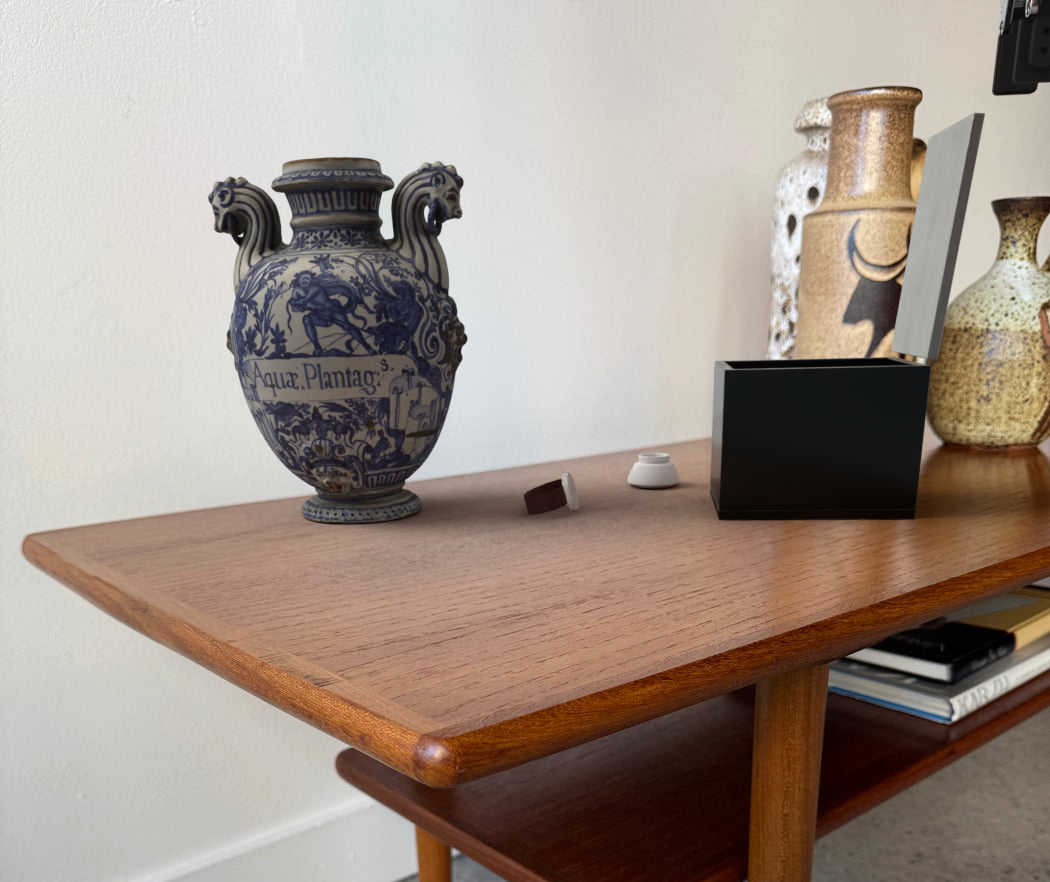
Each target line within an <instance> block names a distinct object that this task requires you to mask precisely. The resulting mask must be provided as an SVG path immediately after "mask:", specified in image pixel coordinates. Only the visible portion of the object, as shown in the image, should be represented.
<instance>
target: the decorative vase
mask: <svg viewBox="0 0 1050 882" xmlns="http://www.w3.org/2000/svg"><path fill="white" fill-rule="evenodd" d="M457 171H458V170H457V168H456V166H455V165H453V164H448V165H445V164H444V163H443V162H442V161H440V160H435V161H434V162H433V163H430V162H428V161H426V162H423V163H421V165H420V166H419V167H418V168H417V170H416V169H415V170H414V171H412V172H410V173H408V174H407V175H406V176H405V177H403V179H401V180H400V182H399V183H398V184H397V186H396V188H395V182H394V180H393V179H392V177H390V176H389V175H386V174H385V173H383V171H382V166H381V162H379V161H378V160H376V159H373V158H370V157H369V158H368V157H358V156H357V157H356V156H355V157H353V156H352V157H350V156H340V157H337V156H327V157H326V156H325V157H313V158H302V159H294V160H289V161H287V162H284V163H283V164H282V169H281V175H280V176H277V177H275V178H274V179H273V180H272V181H271V185H270V188H271V190H273V192H275V193H279V194H284V196H285V198H286V200H287V203H288V205H289V209H290V212H291V219H290V221H289V222H288V223H289V226H290V229H291V230H292V231H291V232H292V237H291V240H290V242H289V243H288V244H287V243H285V242H284V241H283V235H282V223H281V216H280V212H279V209H278V207H277V204H276V202H275V201H274V200H273V198H272V197H271V196H270V195H269V194H268V192H266V191H265V190H264V189H262V188H261V187H260V186H257V185H255V184H252V183H250V182H249V181H248V180H247V178H245V177H244V176H239V177H237V178H235V177H233V176H227V177H226V178H225V180H224V181H219V180H218V181H217V180H216V181H214V183H213V185H212V191H211V192H210V193H209V194H208V196H207V200H208V203H209V204H210V206H211V208H212V211H213V215H214V223H213V230H214V232H216V233H218V234H228V235H230V237H231V238H232V240H233V241H234V243H235V244H236V245H237V246H238V250H237V254H236V256H235V259H234V260H235V261H234V265H233V276H232V279H233V281H232V282H233V293H234V297H235V299H234V303H233V308H232V312H231V315H230V322H229V328H228V330H227V332H226V348H227V350H228V351H229V352H230V353H231V354H232V355H233V358H234V359H233V360H234V362H233V363H234V368H235V370H236V372H237V376H238V379H239V380H238V381H239V383H240V387H241V390H242V393H243V397H244V399H245V402H246V405H247V407H248V409H249V411H250V414H251V415H252V419H253V420H254V422H255V424H256V426H257V428H258V430H259V433H260V434H261V435H262V437H263V439H264V440H265V442H266V443H267V446H268V447H269V448H270V450H271V451H272V452H273V454H274V455H275V457H276V458H277V459H278V460H279V461H280V462H281V463H282V465H283V466H284V467H285V468H286V469H287V470H288V471H289V472H290V473H292V474H293V475H294V476H295V477H297V478H298V479H299V480H301V481H302V482H304V483H306V484H307V485H309V486H311V487H313V488H314V490H315V493H317V494H315V495H313V496H311V497H310V498H308V499H306V500H305V501H304V503H303V504H302V505H301V506H302V507H301V514H302V515H301V516H302V517H303V518H304V519H306V520H308V521H311V522H315V523H322V524H369V523H379V522H380V523H381V522H389V521H394V520H399V519H404V518H406V517H410V516H413V515H415V514H417V513H419V512H420V510H422V508H423V503H422V500H421V498H420V496H419V495H418V494H416V493H415V492H412V490H410V489H407V488H403V487H404V486H405V485H406V480H408V479H409V478H411V477H412V475H414V474H415V473H416V472H417V471H418V470H419V469H420V468H421V467H422V466H423V465H424V464H425V462H426V461H427V460H428V459H429V456H430V455H431V454H432V453H433V450H434V448H435V446H436V444H437V443H438V440H439V438H440V436H441V433H442V431H443V428H444V425H445V422H446V419H447V415H448V413H449V409H450V407H451V406H450V405H451V401H452V397H453V394H454V393H453V392H454V389H455V382H456V374H457V370H458V369H459V366H460V365H461V363H462V361H463V359H464V358H463V354H462V350H463V347H464V346H465V345H466V344H467V342H468V335H467V334H466V332H465V330H466V328H465V327H466V326H465V325H464V324H463V323H462V322H461V320H460V319H459V316H458V306H457V302H456V301H455V299H454V297H452V296H450V295H449V292H450V291H449V290H450V273H449V266H448V262H447V258H446V255H445V252H444V249H443V246H442V245H441V243H440V240H439V238H438V237H439V236H440V235H441V233H442V229H443V224H444V223H446V222H447V221H450V220H454V219H456V220H460V219H461V218H462V217H463V210H462V207H461V190H462V188H463V186H465V185H464V184H465V181H464V178H463V177H462V176H461V175H459V174H458V172H457ZM394 188H395V190H394V192H393V194H392V198H391V205H390V211H391V212H390V213H391V223H392V232H393V233H392V234H393V237H392V238H386V239H385V237H384V236H383V235H382V232H381V228H382V227H383V223H384V221H383V219H382V218H381V217H380V205H381V201H382V196H383V193H385V192H388V191H391V190H393V189H394ZM426 207H428V209H429V210H428V214H427V220H426V216H425V210H426ZM241 235H242V236H241Z"/></svg>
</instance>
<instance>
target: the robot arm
mask: <svg viewBox="0 0 1050 882" xmlns="http://www.w3.org/2000/svg"><path fill="white" fill-rule="evenodd" d="M999 6H1000V8H1001V10H1000V18H999V23H998V24H999V26H998V33H997V34H998V35H997V45H996V52H995V62H994V68H993V69H994V71H993V77H992V78H993V79H992V85H991V86H992V87H991V93H992V95H993V96H994V97H995V96H996V97H1002V96H1020V95H1022V96H1023V95H1031V94H1034V93H1036V91H1037V90H1038V87H1039V84H1044V83H1046V84H1047V83H1050V0H999Z"/></svg>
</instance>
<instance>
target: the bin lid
mask: <svg viewBox="0 0 1050 882" xmlns="http://www.w3.org/2000/svg"><path fill="white" fill-rule="evenodd" d="M985 117H986V113H985V112H973V113H971V114H969V115H968V116H966V117H964V118H962V119H960V120H958V121H957V122H955V123H953V124H951V125H950V126H948V127H946V128H944V129H943V130H941V131H939V132H937V133H935V134H933V135H932V136H929V138H928V139H927V140H928V141H927V147H926V152H925V158H924V162H923V163H924V164H923V169H922V173H921V180H920V185H919V191H918V192H919V193H918V197H917V202H916V209H915V213H914V220H913V225H912V231H911V236H910V242H909V245H908V246H909V247H908V252H907V258H906V263H905V270H904V275H903V281H902V285H901V292H900V298H899V303H898V308H897V309H898V310H897V314H896V320H895V325H894V330H893V337H892V342H891V346H890V347H891V348H890V351H891V352H893V353H897V354H902V355H907V356H911V357H916V358H921V359H925V360H933V361H934V360H936V361H937V360H938V358H939V353H940V347H941V344H942V343H941V342H942V337H943V333H944V327H945V322H946V318H947V317H946V316H947V312H948V307H949V301H950V297H951V291H952V286H953V281H954V276H955V271H956V265H957V260H958V256H959V249H960V247H961V246H960V245H961V240H962V234H963V229H964V226H965V220H966V215H967V210H968V204H969V200H970V194H971V189H972V183H973V178H974V173H975V168H976V163H977V158H978V154H979V148H980V142H981V138H982V132H983V127H984V123H985Z"/></svg>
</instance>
